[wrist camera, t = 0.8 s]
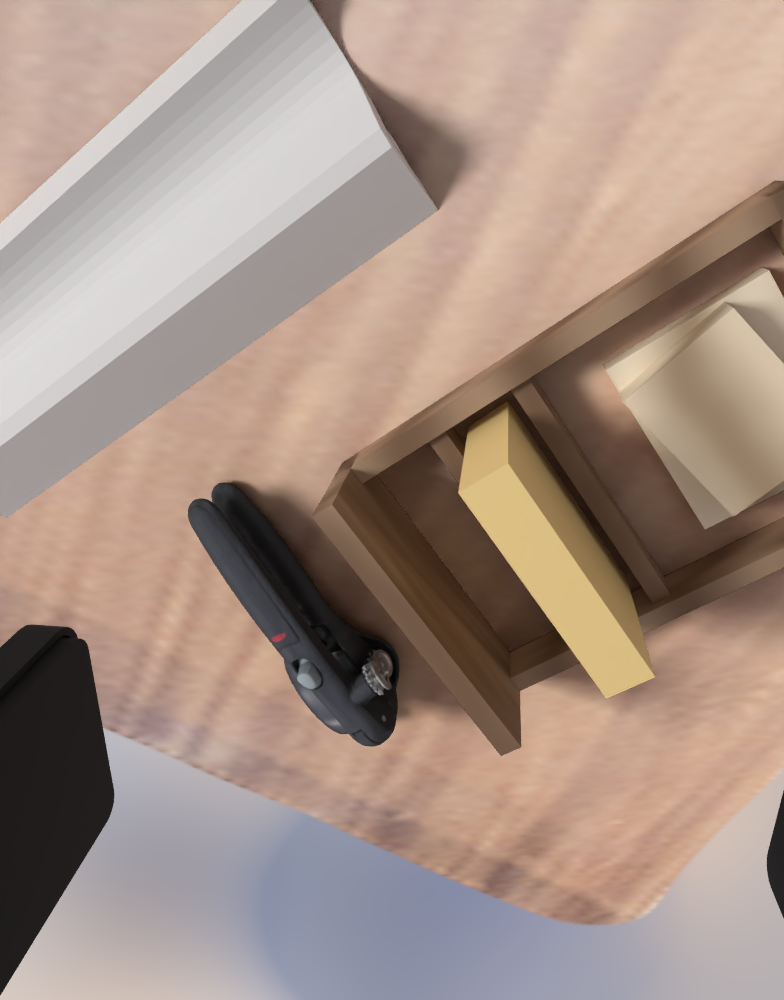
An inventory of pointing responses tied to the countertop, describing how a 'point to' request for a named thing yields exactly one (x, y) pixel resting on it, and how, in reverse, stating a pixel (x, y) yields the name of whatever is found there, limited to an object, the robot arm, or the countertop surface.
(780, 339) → the offcut lower
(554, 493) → the panel
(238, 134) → the crown molding
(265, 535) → the can opener
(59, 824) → the robot arm
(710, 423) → the offcut upper
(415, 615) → the rack
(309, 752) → the countertop surface
